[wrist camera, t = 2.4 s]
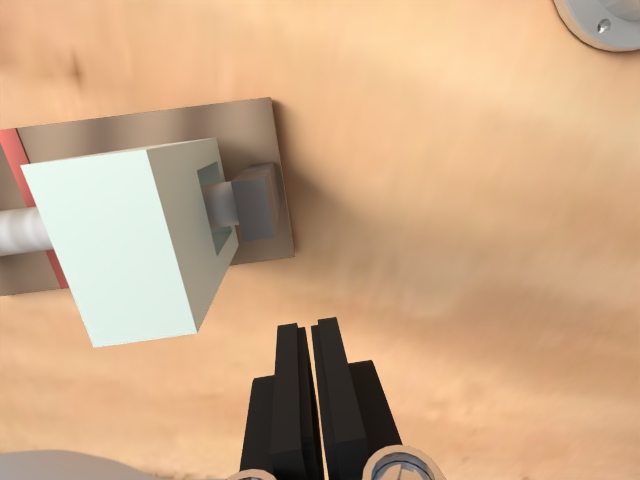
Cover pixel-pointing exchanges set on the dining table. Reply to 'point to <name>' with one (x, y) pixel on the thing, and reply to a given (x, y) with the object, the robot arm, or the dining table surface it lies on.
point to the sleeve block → (136, 237)
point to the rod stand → (140, 131)
